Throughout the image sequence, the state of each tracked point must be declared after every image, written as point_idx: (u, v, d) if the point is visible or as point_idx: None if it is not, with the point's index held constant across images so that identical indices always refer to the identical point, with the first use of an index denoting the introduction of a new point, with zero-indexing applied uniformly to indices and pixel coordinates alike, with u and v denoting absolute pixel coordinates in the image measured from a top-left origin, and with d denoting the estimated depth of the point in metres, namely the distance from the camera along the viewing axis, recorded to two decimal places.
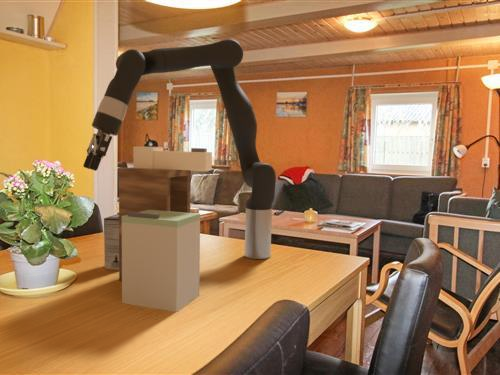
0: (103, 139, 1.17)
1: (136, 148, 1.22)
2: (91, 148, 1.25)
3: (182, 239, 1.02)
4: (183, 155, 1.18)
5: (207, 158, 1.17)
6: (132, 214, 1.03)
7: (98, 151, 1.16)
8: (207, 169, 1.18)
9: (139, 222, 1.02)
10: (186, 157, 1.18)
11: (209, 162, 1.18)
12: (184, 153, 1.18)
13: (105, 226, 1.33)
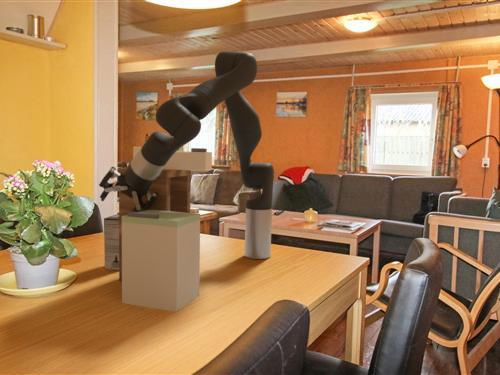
0: None
1: (136, 148, 1.22)
2: None
3: (182, 239, 1.02)
4: (183, 155, 1.18)
5: (207, 158, 1.17)
6: (132, 214, 1.03)
7: None
8: (207, 169, 1.18)
9: (139, 222, 1.02)
10: (186, 157, 1.18)
11: (209, 162, 1.18)
12: (184, 153, 1.18)
13: (105, 226, 1.33)
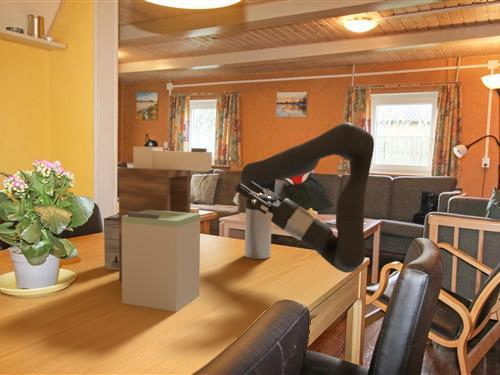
0: None
1: (136, 148, 1.22)
2: None
3: (182, 239, 1.02)
4: (183, 155, 1.18)
5: (207, 158, 1.17)
6: (132, 214, 1.03)
7: None
8: (207, 169, 1.18)
9: (139, 222, 1.02)
10: (186, 157, 1.18)
11: (209, 162, 1.18)
12: (184, 153, 1.18)
13: (105, 226, 1.33)
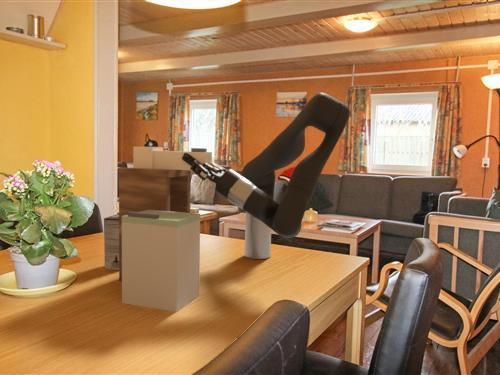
0: None
1: (136, 148, 1.22)
2: None
3: (182, 239, 1.02)
4: None
5: (207, 158, 1.17)
6: (132, 214, 1.03)
7: None
8: None
9: (139, 222, 1.02)
10: None
11: (209, 162, 1.18)
12: None
13: (105, 226, 1.33)
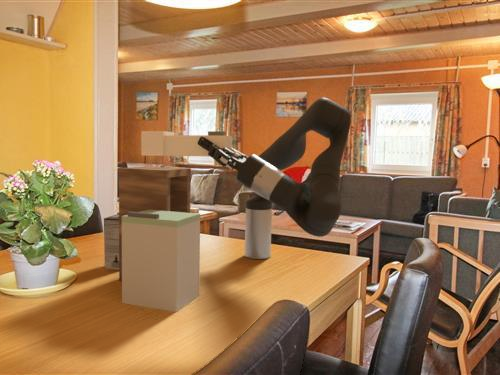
0: None
1: (144, 133, 1.07)
2: None
3: (182, 239, 1.02)
4: None
5: (226, 142, 1.02)
6: (132, 214, 1.03)
7: None
8: None
9: (139, 222, 1.02)
10: None
11: (228, 147, 1.03)
12: None
13: (105, 226, 1.33)
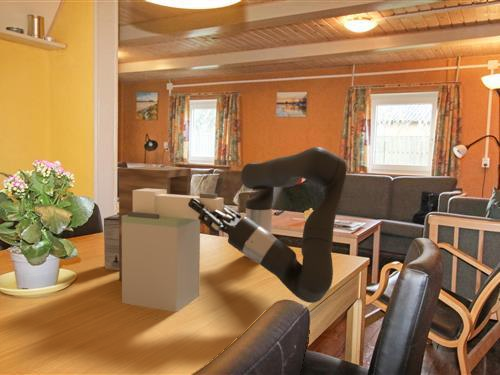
0: None
1: (136, 192, 1.05)
2: None
3: (182, 239, 1.02)
4: None
5: (218, 206, 1.01)
6: (132, 214, 1.03)
7: None
8: None
9: (139, 222, 1.02)
10: None
11: (220, 210, 1.02)
12: None
13: (105, 226, 1.33)
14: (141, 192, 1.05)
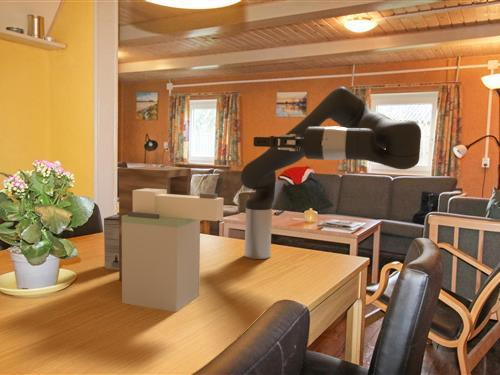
0: None
1: (136, 192, 1.05)
2: None
3: (182, 239, 1.02)
4: (190, 201, 1.02)
5: (218, 206, 1.01)
6: (132, 214, 1.03)
7: None
8: (218, 218, 1.01)
9: (139, 222, 1.02)
10: (194, 204, 1.02)
11: (220, 210, 1.02)
12: (192, 199, 1.02)
13: (105, 226, 1.33)
14: (141, 192, 1.05)
